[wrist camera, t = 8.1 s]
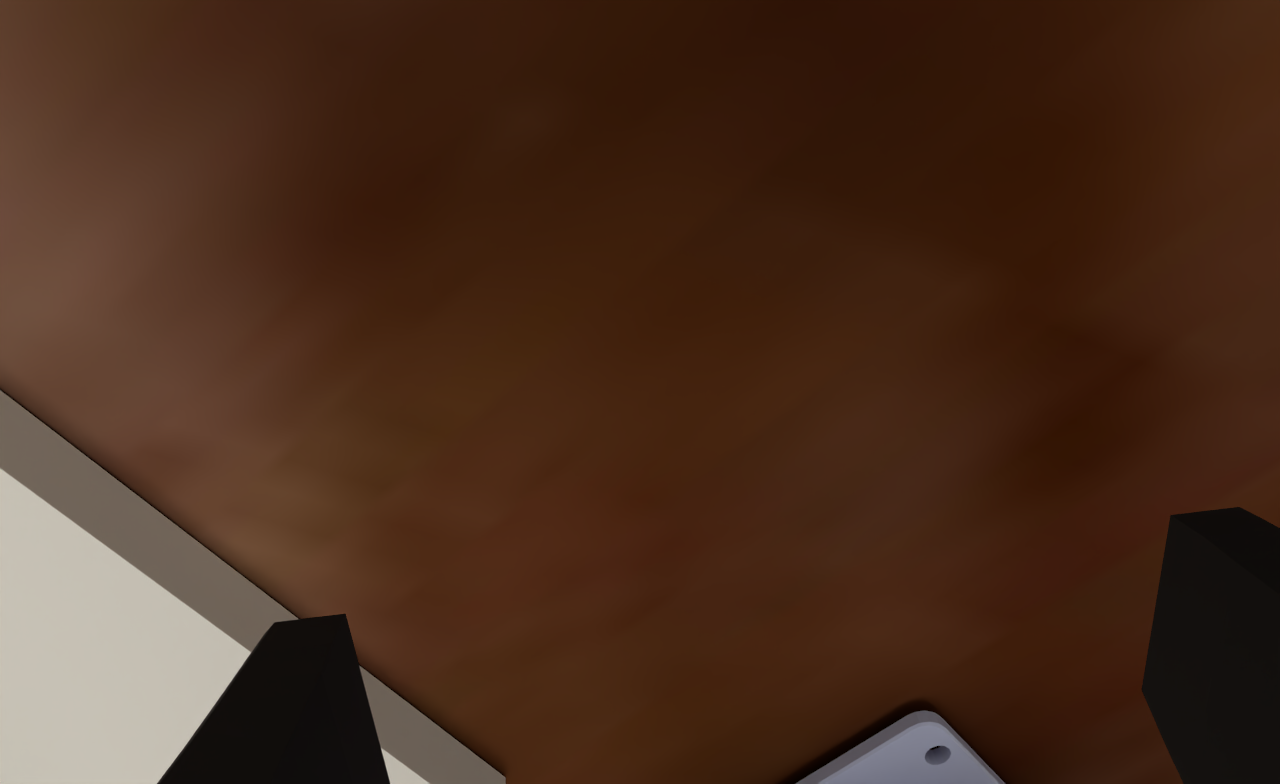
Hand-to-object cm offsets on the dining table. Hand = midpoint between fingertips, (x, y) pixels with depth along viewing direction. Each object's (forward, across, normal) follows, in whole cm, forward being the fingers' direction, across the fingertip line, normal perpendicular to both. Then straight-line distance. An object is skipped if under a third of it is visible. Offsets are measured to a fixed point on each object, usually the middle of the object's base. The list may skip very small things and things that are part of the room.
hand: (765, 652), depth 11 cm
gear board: (+9, +15, +10) cm, 20 cm away
